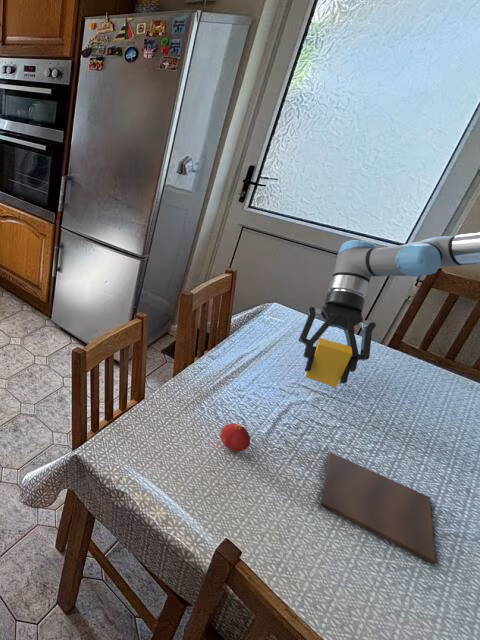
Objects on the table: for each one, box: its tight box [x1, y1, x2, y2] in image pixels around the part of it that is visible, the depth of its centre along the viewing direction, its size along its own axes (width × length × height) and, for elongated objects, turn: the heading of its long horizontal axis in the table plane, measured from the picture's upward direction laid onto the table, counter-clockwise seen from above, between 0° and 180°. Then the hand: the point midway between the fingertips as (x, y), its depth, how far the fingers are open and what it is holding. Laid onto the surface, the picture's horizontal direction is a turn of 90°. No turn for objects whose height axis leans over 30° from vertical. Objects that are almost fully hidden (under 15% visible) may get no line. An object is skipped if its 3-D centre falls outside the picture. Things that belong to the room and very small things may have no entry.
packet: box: [304, 337, 352, 388], centre depth 107 cm, size 6×4×11 cm, turn 52°
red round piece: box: [219, 422, 251, 452], centre depth 95 cm, size 6×6×8 cm
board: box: [320, 452, 436, 564], centre depth 84 cm, size 16×16×1 cm
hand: (325, 376), depth 106 cm, fingers closed on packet, 6 cm apart
